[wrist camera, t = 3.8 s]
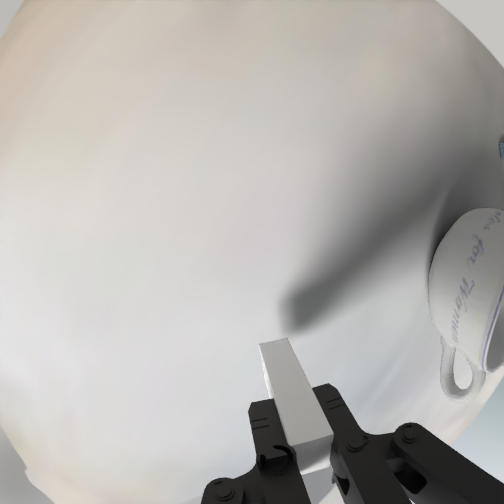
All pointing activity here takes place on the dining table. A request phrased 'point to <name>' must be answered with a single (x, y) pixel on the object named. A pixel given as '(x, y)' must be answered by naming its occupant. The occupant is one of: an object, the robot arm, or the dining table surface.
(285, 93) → the dining table surface
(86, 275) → the dining table surface
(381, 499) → the robot arm
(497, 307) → the teacup
